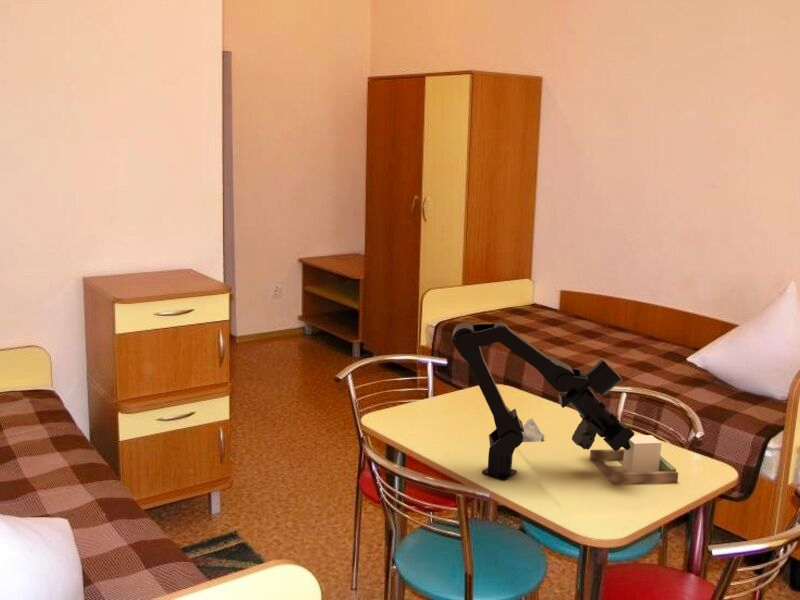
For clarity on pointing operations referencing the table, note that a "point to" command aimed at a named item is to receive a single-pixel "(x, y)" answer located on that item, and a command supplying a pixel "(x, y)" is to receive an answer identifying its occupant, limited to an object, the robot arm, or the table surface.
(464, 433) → the table surface
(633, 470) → the cream block
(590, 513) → the table surface
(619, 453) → the tray
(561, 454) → the table surface
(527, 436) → the stone
